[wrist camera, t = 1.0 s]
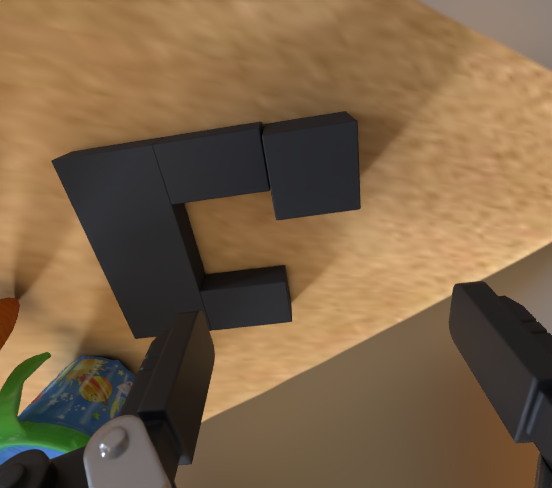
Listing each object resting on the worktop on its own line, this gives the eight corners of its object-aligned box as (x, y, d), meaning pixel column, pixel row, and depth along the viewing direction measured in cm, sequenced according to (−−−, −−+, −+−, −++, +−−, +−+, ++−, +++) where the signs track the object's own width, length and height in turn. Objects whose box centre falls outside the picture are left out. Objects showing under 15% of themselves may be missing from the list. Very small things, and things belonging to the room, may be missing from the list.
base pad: (71, 151, 25) (50, 160, 22) (261, 121, 23) (259, 127, 21) (145, 319, 32) (134, 339, 30) (291, 303, 31) (292, 322, 29)
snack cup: (18, 329, 33) (-80, 430, 24) (118, 313, 32) (54, 412, 23) (92, 427, 40) (37, 532, 31) (175, 417, 39) (144, 523, 30)
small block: (264, 123, 23) (261, 135, 20) (345, 111, 23) (357, 120, 19) (276, 199, 26) (276, 220, 23) (349, 189, 26) (360, 209, 22)
